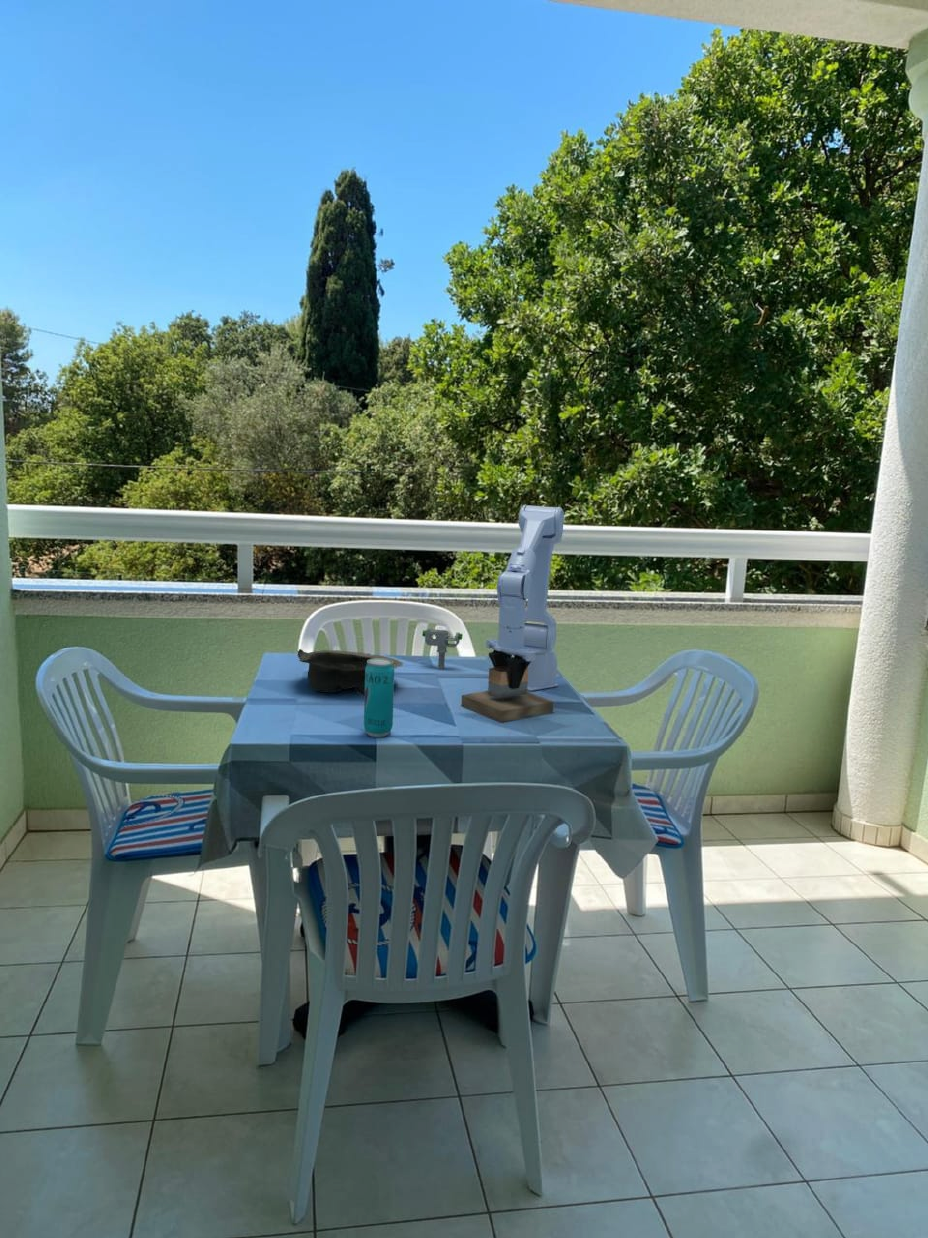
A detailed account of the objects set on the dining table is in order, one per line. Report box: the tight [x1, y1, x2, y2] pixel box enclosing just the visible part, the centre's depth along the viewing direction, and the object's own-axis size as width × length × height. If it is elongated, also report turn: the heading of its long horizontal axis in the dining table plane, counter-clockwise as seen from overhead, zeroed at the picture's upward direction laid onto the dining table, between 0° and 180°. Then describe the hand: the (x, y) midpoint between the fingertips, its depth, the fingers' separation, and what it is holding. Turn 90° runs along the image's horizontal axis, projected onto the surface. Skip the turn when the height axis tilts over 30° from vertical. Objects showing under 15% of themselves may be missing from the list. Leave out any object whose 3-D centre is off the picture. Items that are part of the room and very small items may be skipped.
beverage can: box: [363, 658, 395, 738], centre depth 181 cm, size 6×6×15 cm
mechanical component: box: [421, 628, 463, 670], centre depth 235 cm, size 3×10×10 cm, turn 78°
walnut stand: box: [461, 690, 554, 723], centre depth 203 cm, size 15×14×2 cm
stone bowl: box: [297, 648, 404, 695], centre depth 215 cm, size 25×25×9 cm
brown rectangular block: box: [487, 665, 528, 699], centre depth 202 cm, size 8×4×6 cm, turn 128°
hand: (508, 685), depth 202 cm, fingers closed on brown rectangular block, 4 cm apart
